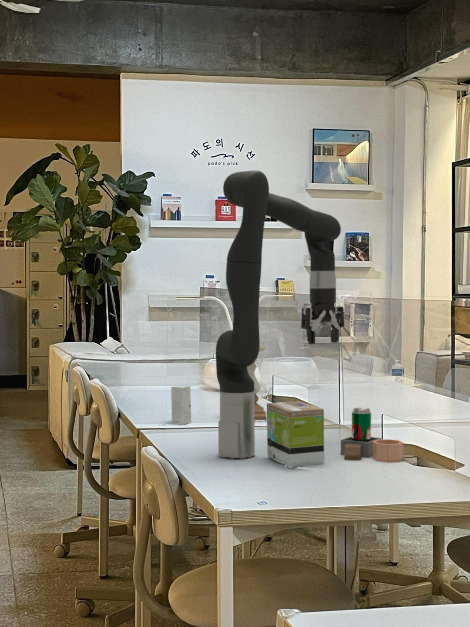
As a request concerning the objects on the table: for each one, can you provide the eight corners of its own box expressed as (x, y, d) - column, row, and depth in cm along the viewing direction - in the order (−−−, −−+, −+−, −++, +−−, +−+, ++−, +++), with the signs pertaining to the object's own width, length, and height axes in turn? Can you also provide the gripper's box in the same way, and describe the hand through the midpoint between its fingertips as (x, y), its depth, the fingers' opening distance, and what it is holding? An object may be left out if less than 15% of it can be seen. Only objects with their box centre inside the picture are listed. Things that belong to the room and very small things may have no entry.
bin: (368, 459, 248) (368, 442, 248) (340, 456, 252) (340, 439, 252) (381, 454, 255) (381, 438, 255) (354, 451, 259) (354, 435, 259)
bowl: (395, 465, 241) (395, 445, 241) (369, 462, 245) (369, 442, 245) (406, 460, 247) (406, 441, 247) (380, 457, 251) (380, 438, 251)
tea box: (265, 458, 251) (265, 402, 251) (300, 455, 255) (300, 400, 254) (289, 469, 237) (288, 409, 237) (325, 466, 241) (325, 407, 240)
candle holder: (266, 421, 312) (265, 348, 311) (232, 421, 312) (232, 348, 311) (265, 416, 323) (265, 345, 322) (233, 416, 323) (232, 346, 322)
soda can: (370, 456, 251) (370, 410, 250) (350, 455, 252) (351, 409, 251) (371, 452, 256) (371, 407, 255) (352, 451, 257) (352, 407, 256)
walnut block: (359, 462, 245) (360, 447, 245) (344, 462, 246) (344, 446, 245) (361, 459, 249) (361, 444, 249) (345, 459, 250) (345, 444, 249)
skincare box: (183, 425, 306) (183, 387, 305) (170, 424, 307) (170, 386, 307) (191, 422, 311) (191, 385, 311) (179, 421, 313) (179, 384, 313)
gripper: (312, 287, 267) (312, 345, 268) (350, 286, 275) (350, 342, 276) (295, 287, 273) (295, 344, 274) (332, 286, 281) (333, 341, 282)
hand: (323, 343), depth 275 cm, fingers open, 8 cm apart
